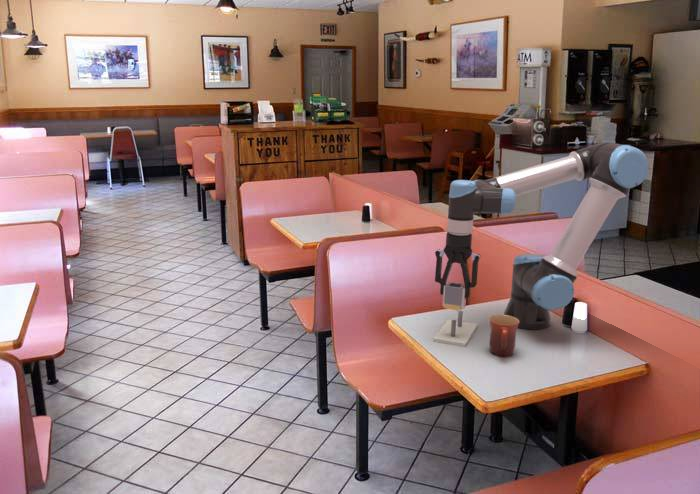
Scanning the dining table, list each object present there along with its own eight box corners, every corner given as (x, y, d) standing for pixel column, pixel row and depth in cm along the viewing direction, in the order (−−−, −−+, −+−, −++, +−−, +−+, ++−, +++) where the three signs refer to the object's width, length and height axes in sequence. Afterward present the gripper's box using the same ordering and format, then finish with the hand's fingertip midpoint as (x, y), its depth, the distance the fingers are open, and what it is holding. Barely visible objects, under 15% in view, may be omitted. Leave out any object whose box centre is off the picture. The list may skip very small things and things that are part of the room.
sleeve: (463, 305, 196) (465, 284, 195) (460, 310, 192) (461, 288, 190) (447, 303, 198) (449, 281, 196) (443, 308, 194) (445, 286, 192)
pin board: (477, 326, 208) (478, 309, 206) (465, 346, 192) (466, 328, 190) (447, 322, 212) (448, 305, 210) (433, 341, 195) (434, 322, 194)
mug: (486, 345, 193) (488, 313, 191) (515, 347, 192) (518, 315, 189) (486, 361, 182) (489, 327, 179) (518, 364, 180) (521, 330, 178)
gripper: (492, 233, 189) (485, 307, 195) (433, 226, 196) (428, 298, 202) (487, 238, 183) (480, 314, 188) (426, 231, 189) (422, 305, 195)
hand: (453, 306), depth 195 cm, fingers closed on sleeve, 5 cm apart
